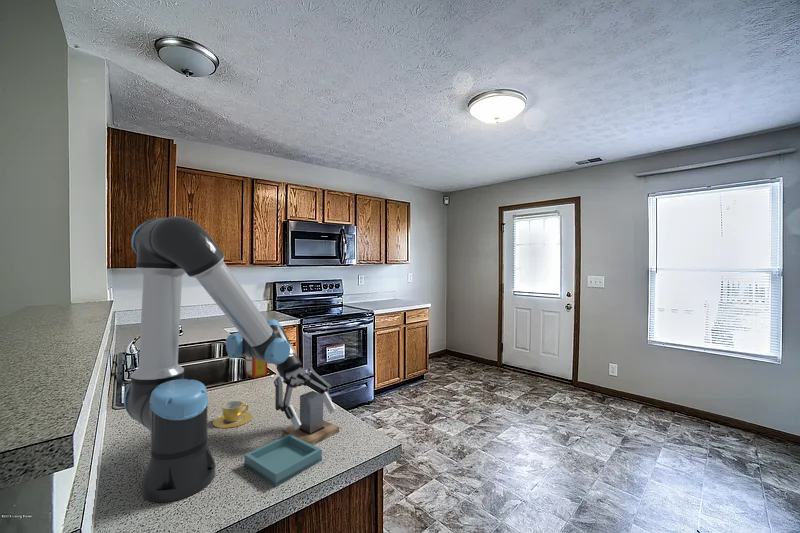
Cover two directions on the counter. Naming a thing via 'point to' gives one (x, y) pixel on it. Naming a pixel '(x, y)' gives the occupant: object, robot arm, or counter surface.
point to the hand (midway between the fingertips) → (316, 418)
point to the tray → (282, 459)
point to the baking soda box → (255, 367)
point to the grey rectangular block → (311, 412)
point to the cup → (233, 414)
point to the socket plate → (316, 437)
